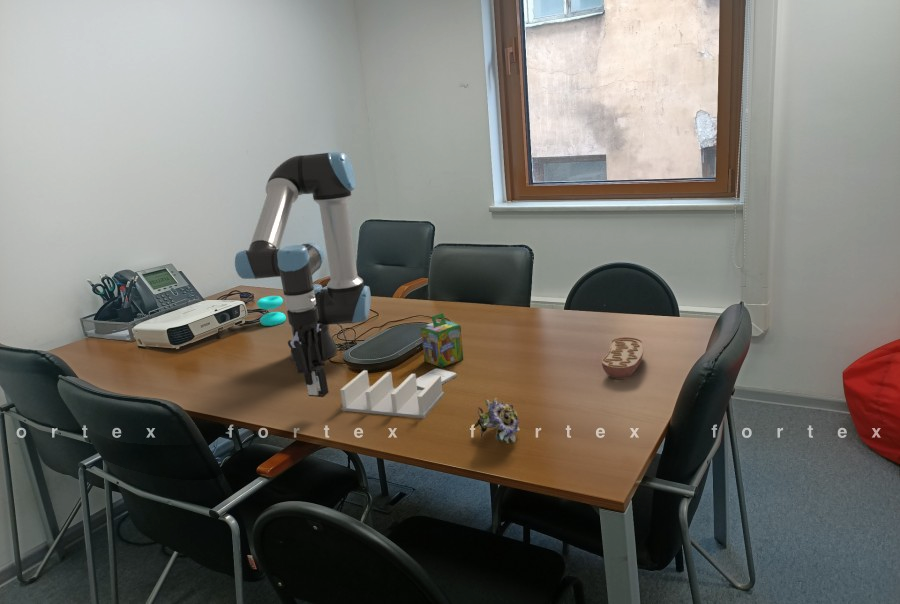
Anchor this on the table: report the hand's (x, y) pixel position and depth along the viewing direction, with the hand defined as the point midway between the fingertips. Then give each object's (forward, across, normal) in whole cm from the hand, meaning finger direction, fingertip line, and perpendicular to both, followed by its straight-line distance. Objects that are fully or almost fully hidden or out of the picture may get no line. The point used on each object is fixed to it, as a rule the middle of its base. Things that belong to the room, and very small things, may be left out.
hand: (316, 391), depth 167 cm
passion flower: (+6, -3, -50) cm, 51 cm away
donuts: (+8, +66, +64) cm, 92 cm away
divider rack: (+6, +9, -17) cm, 21 cm away
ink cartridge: (+1, 0, 0) cm, 1 cm away
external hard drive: (+7, +24, -22) cm, 34 cm away
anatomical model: (+7, +42, -74) cm, 85 cm away
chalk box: (+7, +40, -20) cm, 45 cm away
